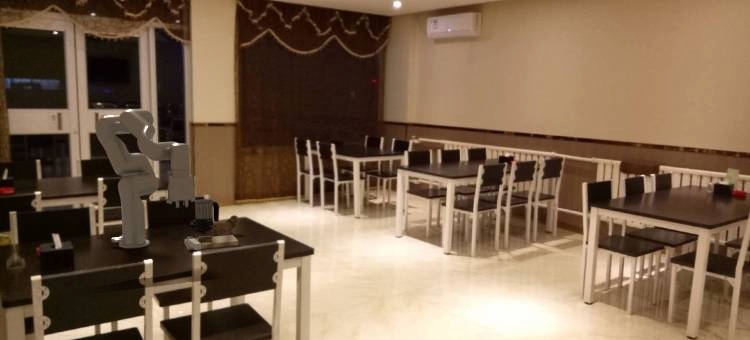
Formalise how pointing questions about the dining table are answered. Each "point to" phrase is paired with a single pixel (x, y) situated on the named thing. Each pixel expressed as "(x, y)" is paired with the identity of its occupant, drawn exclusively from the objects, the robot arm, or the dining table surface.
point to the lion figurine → (225, 225)
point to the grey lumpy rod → (193, 243)
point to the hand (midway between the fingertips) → (181, 216)
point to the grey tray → (214, 241)
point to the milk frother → (205, 214)
